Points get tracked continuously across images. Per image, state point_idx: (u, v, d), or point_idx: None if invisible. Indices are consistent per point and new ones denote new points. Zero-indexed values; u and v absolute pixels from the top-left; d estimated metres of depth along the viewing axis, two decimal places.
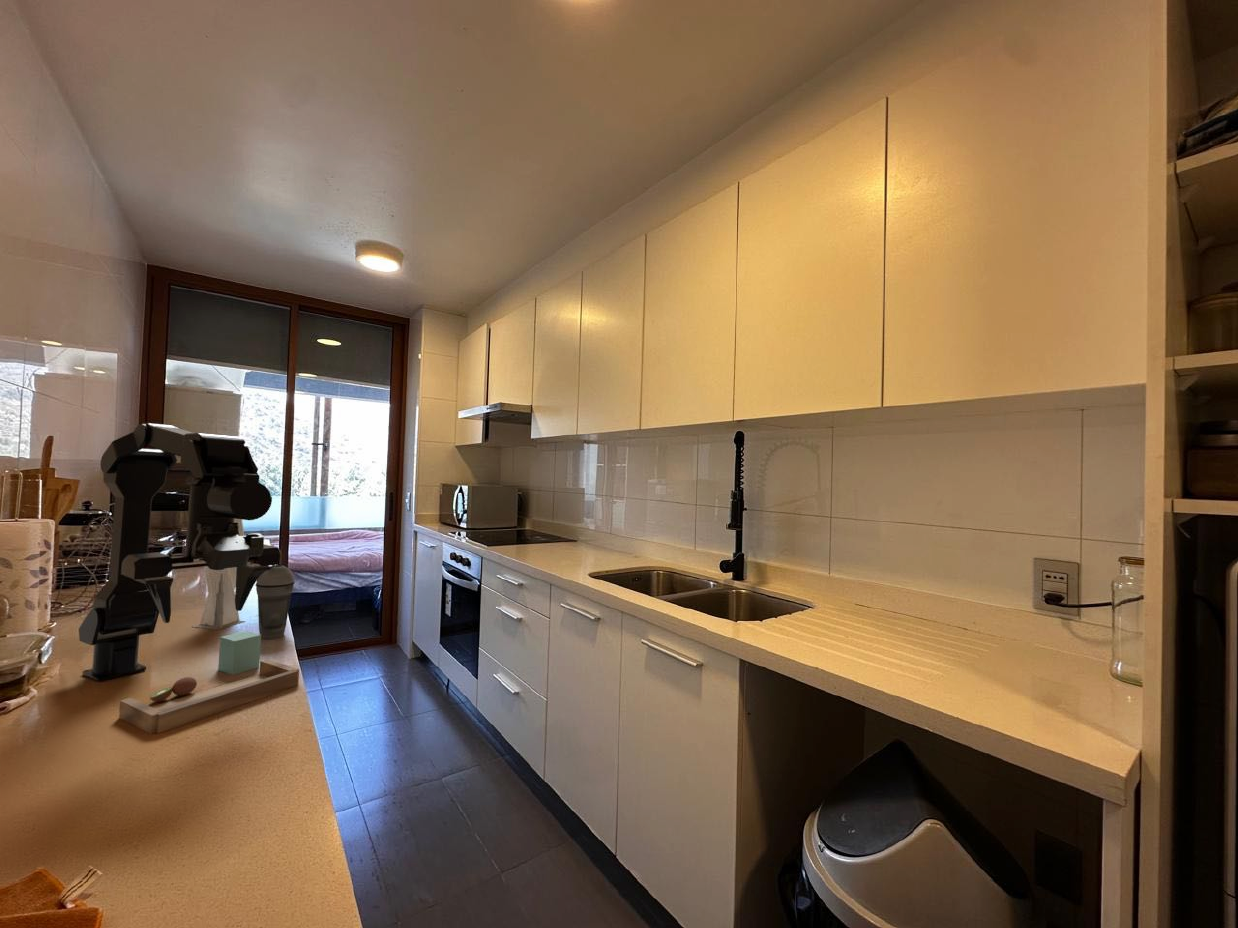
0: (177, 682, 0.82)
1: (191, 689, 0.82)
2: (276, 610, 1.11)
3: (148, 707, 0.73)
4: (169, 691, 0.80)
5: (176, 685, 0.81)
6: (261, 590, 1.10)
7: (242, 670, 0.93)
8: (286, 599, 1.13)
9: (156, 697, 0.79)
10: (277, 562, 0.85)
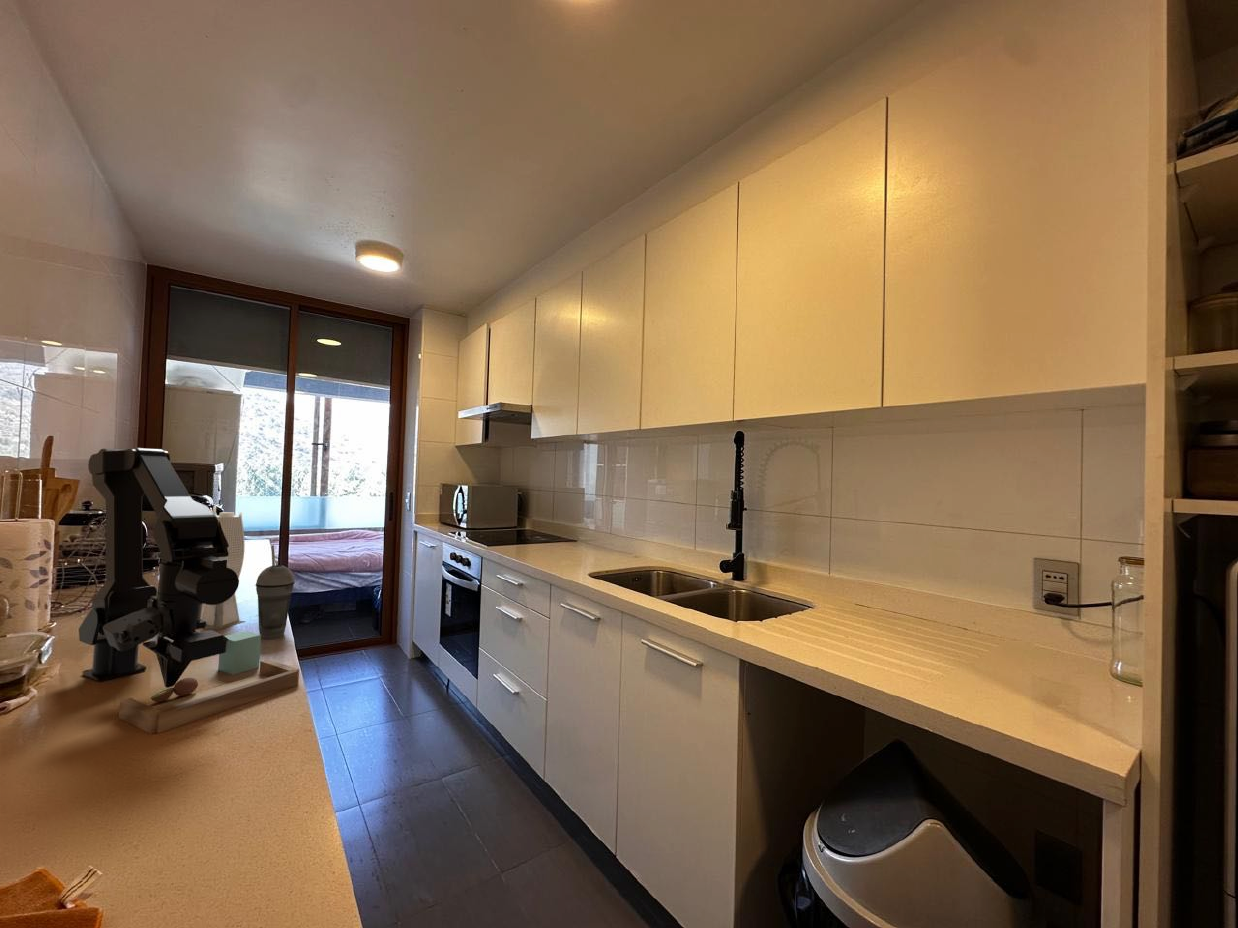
0: (178, 682, 0.81)
1: (192, 689, 0.82)
2: (276, 610, 1.11)
3: (148, 707, 0.73)
4: (170, 691, 0.80)
5: (177, 686, 0.81)
6: (261, 590, 1.10)
7: (242, 670, 0.93)
8: (286, 599, 1.13)
9: (157, 697, 0.78)
10: (179, 659, 0.76)
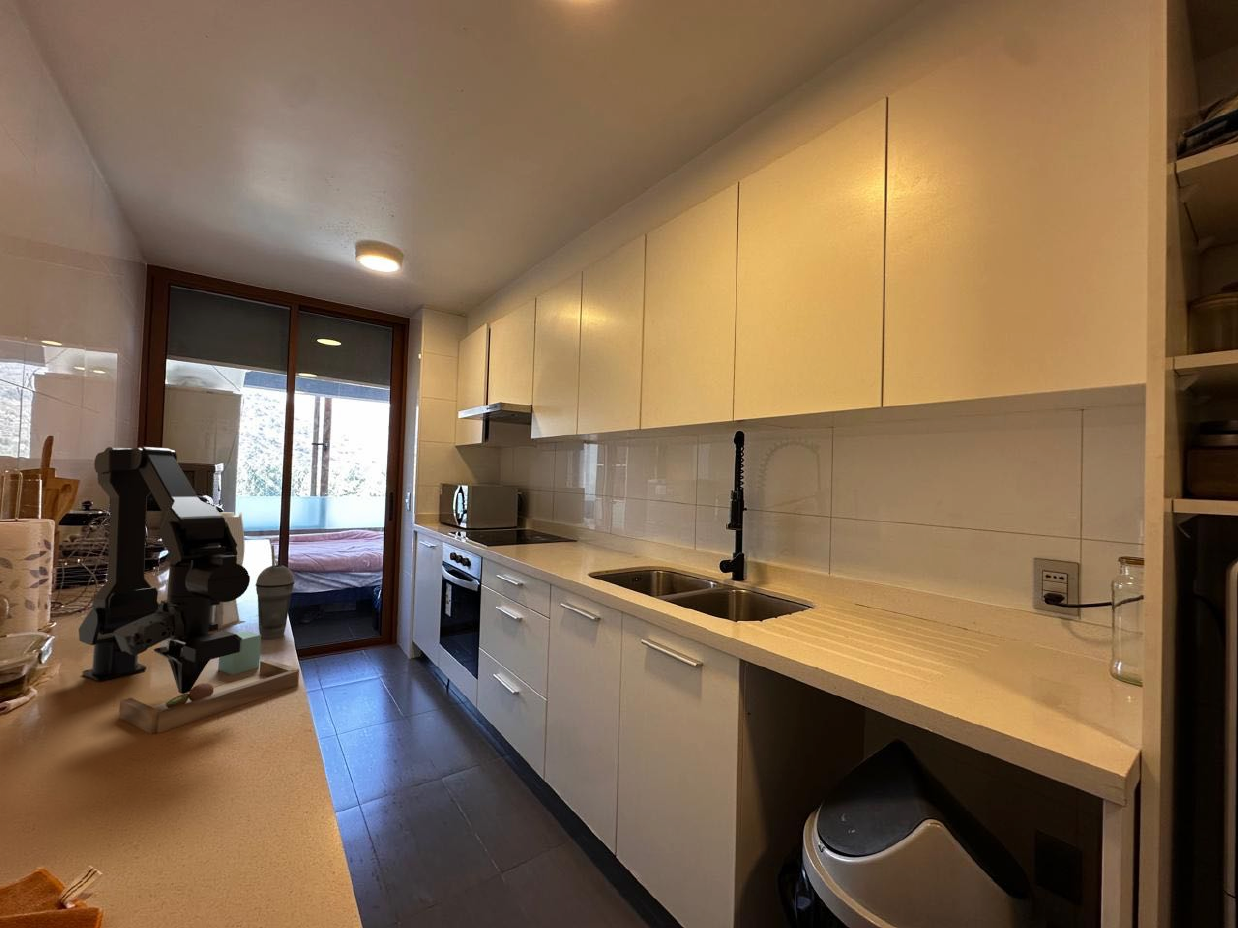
0: (194, 689, 0.79)
1: (207, 696, 0.80)
2: (276, 610, 1.11)
3: (148, 707, 0.73)
4: (185, 698, 0.78)
5: (192, 692, 0.79)
6: (261, 590, 1.10)
7: (242, 670, 0.93)
8: (286, 599, 1.13)
9: (172, 705, 0.76)
10: (193, 659, 0.74)
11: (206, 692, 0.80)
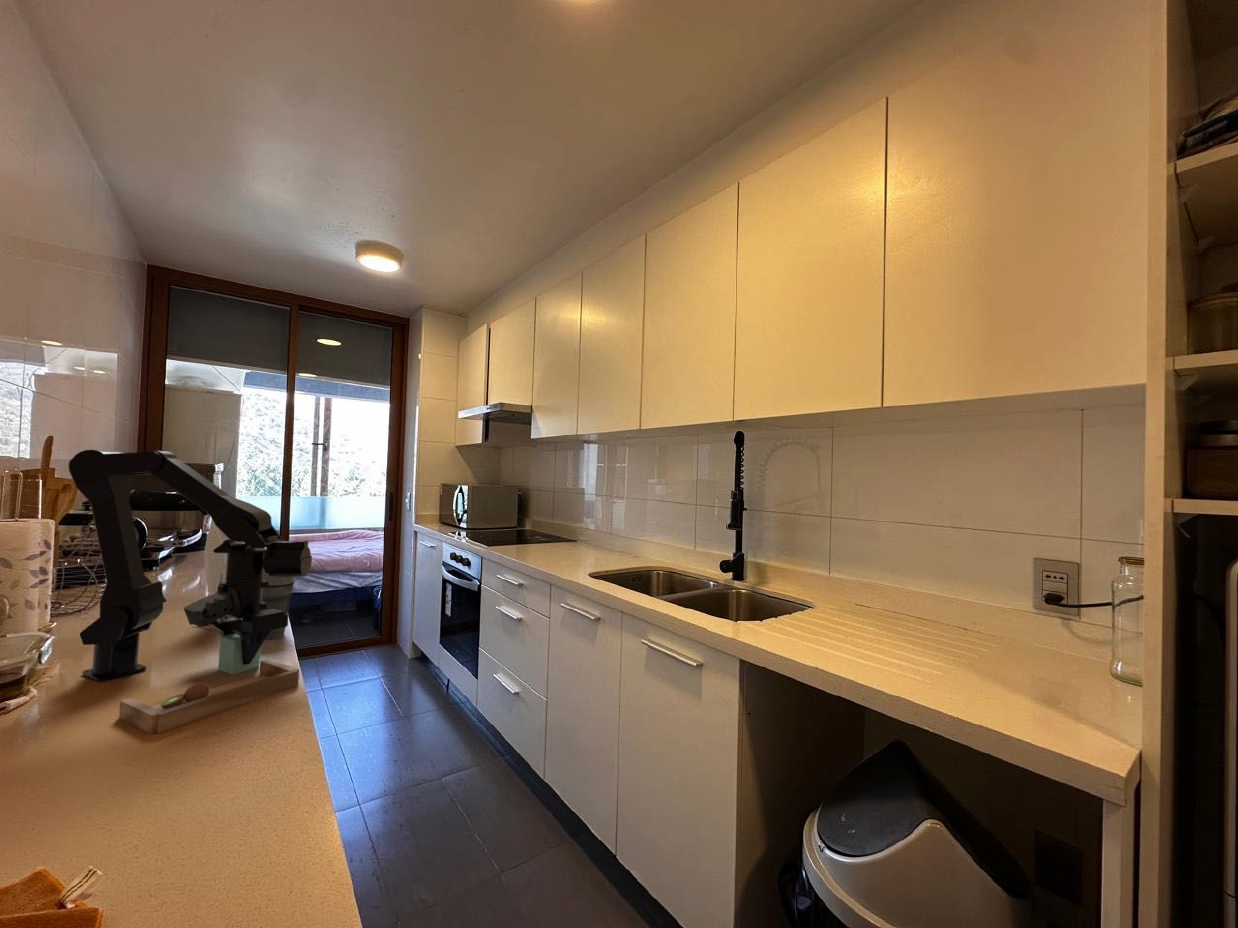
0: (189, 689, 0.79)
1: (203, 697, 0.80)
2: None
3: (148, 707, 0.73)
4: (181, 699, 0.78)
5: (188, 693, 0.79)
6: None
7: (242, 670, 0.93)
8: (286, 599, 1.13)
9: (168, 705, 0.76)
10: (251, 631, 0.88)
11: (202, 692, 0.80)
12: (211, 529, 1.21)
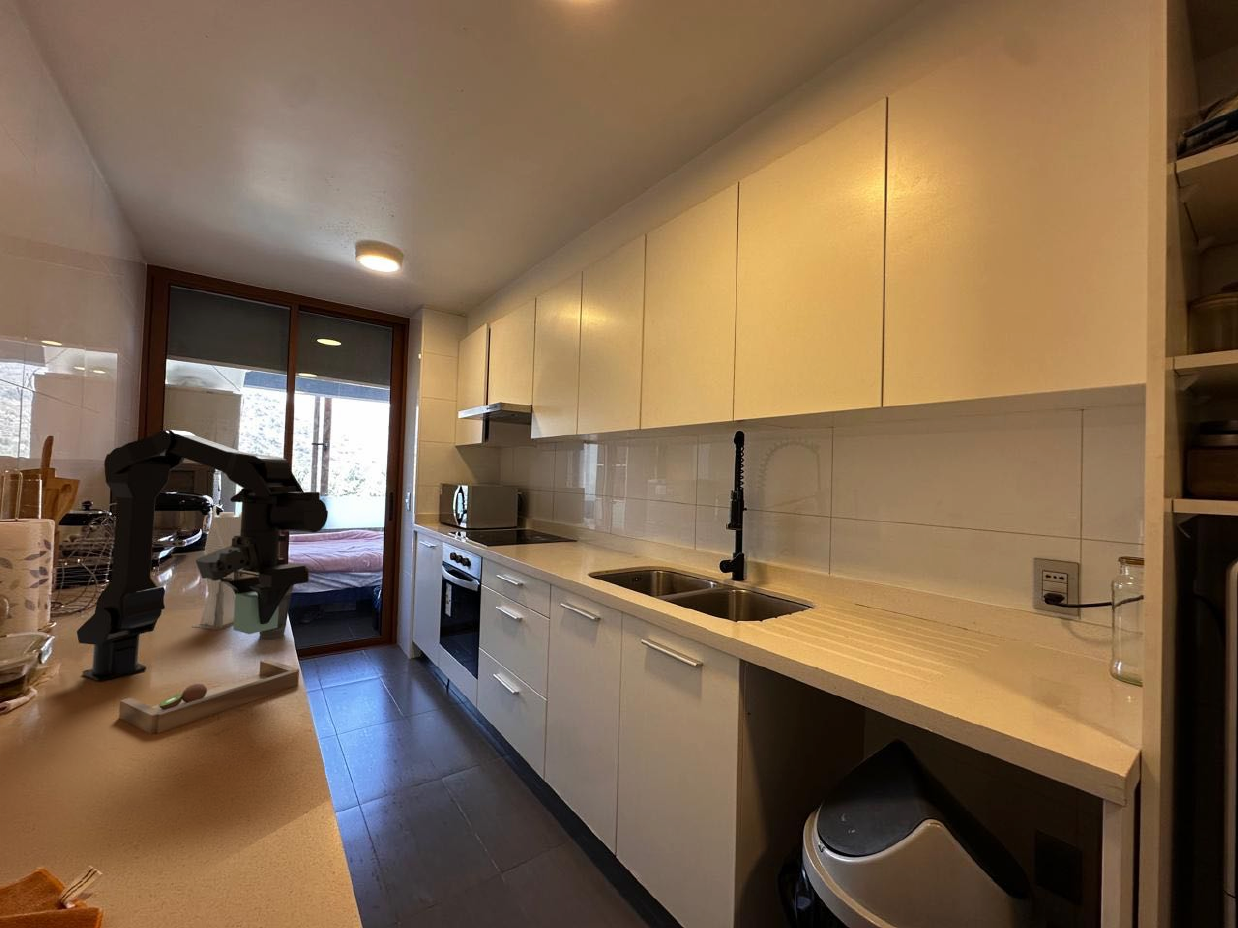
0: (187, 689, 0.79)
1: (201, 697, 0.80)
2: None
3: (148, 707, 0.73)
4: (179, 699, 0.77)
5: (186, 693, 0.79)
6: None
7: (260, 630, 0.85)
8: (286, 599, 1.13)
9: (166, 706, 0.76)
10: (269, 585, 0.81)
11: (200, 692, 0.79)
12: (211, 529, 1.21)
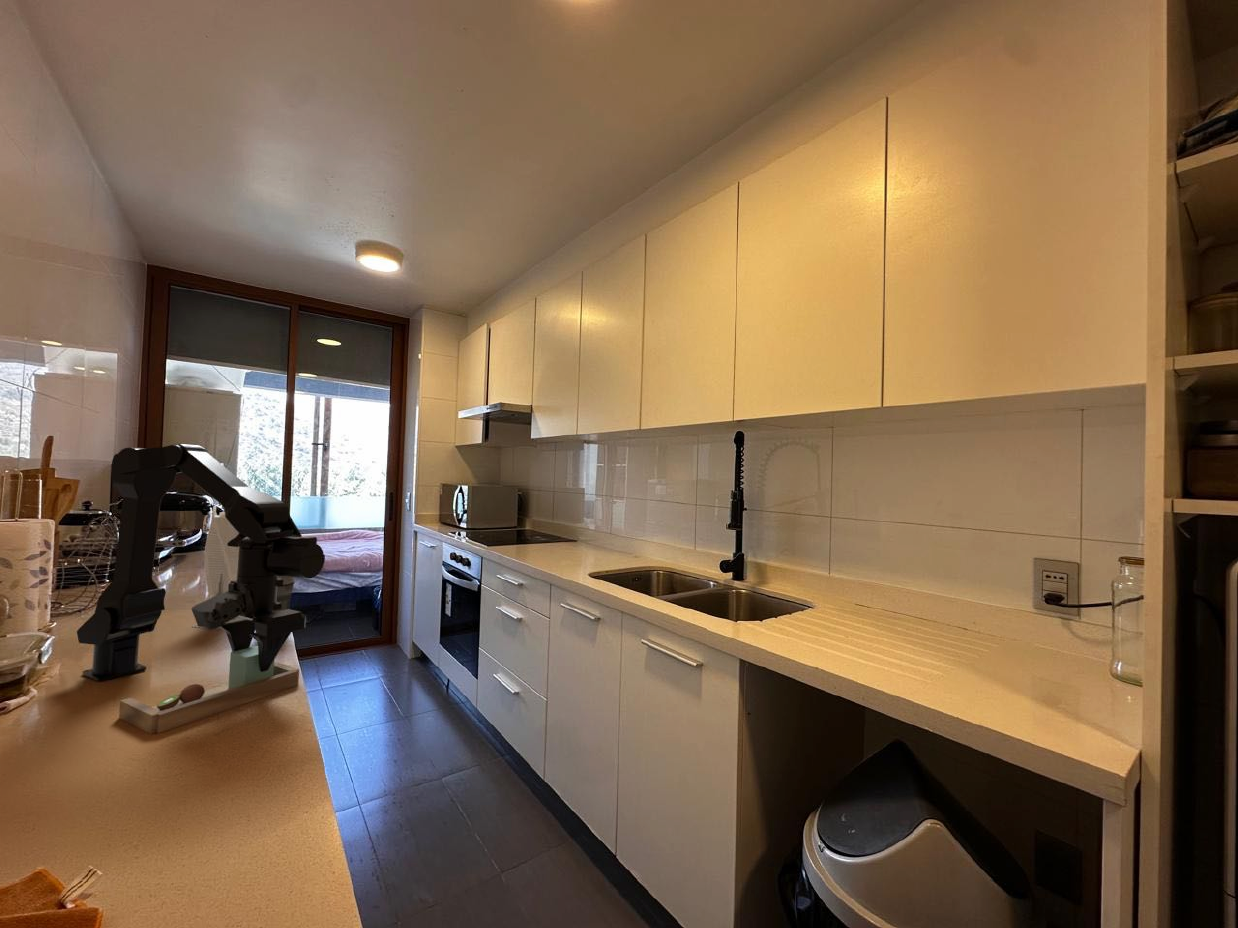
0: (185, 690, 0.79)
1: (199, 697, 0.80)
2: (276, 610, 1.11)
3: (148, 707, 0.73)
4: (177, 699, 0.77)
5: (184, 693, 0.78)
6: None
7: None
8: (286, 599, 1.13)
9: (164, 706, 0.76)
10: (265, 634, 0.80)
11: (198, 693, 0.79)
12: (211, 529, 1.21)
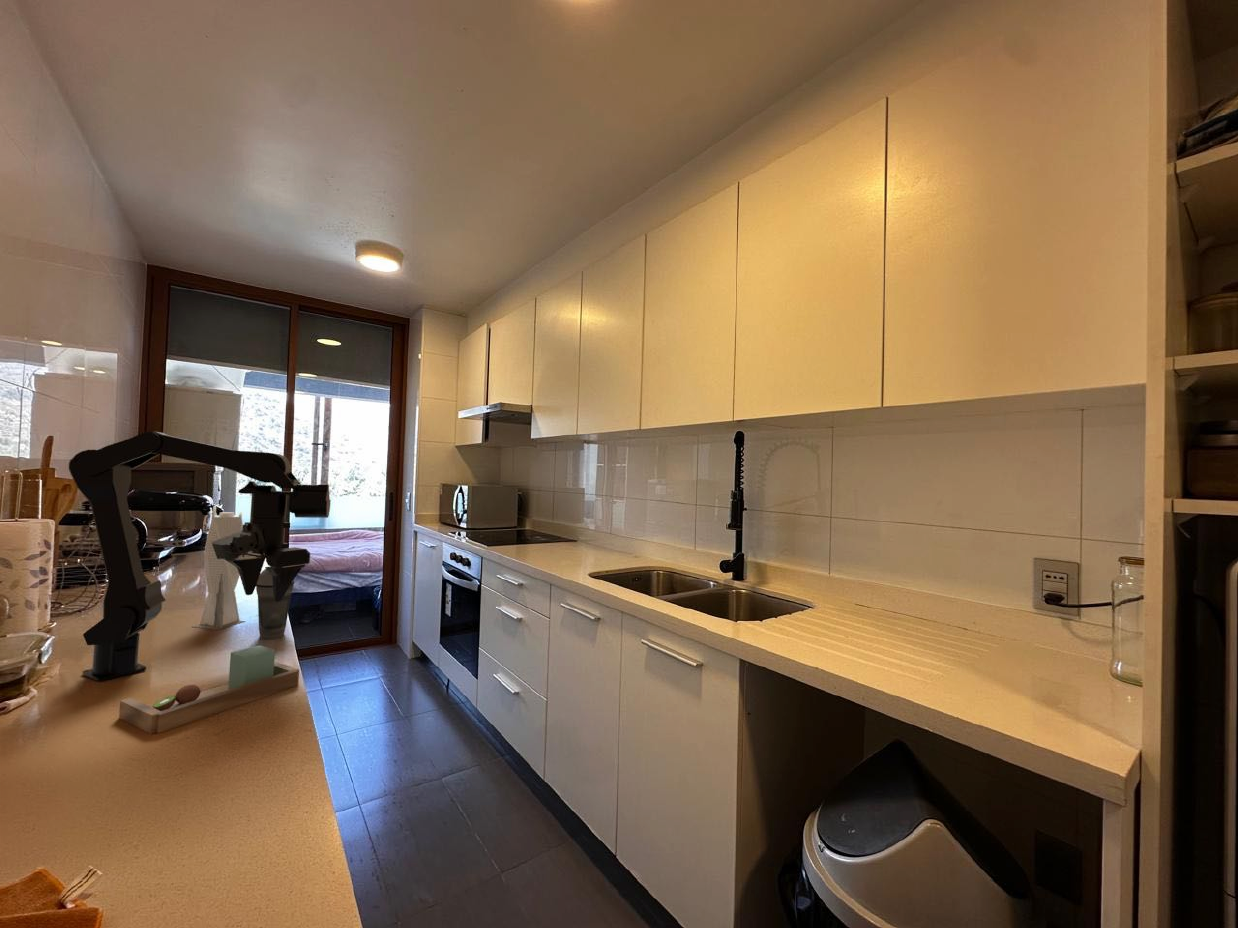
0: (181, 690, 0.79)
1: (195, 698, 0.79)
2: (276, 610, 1.11)
3: (148, 707, 0.73)
4: (173, 700, 0.77)
5: (180, 694, 0.78)
6: (261, 590, 1.10)
7: None
8: (286, 599, 1.13)
9: (160, 707, 0.76)
10: (275, 565, 0.93)
11: (194, 693, 0.79)
12: (211, 529, 1.21)
